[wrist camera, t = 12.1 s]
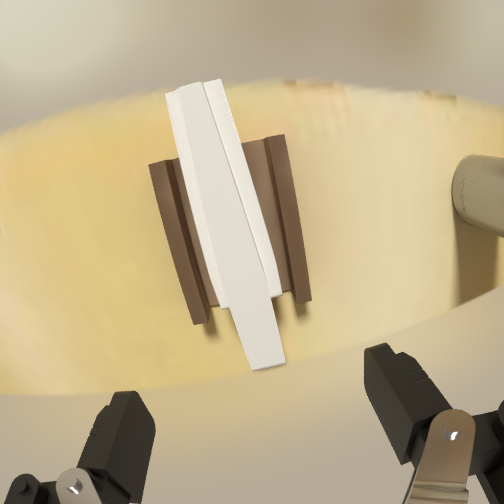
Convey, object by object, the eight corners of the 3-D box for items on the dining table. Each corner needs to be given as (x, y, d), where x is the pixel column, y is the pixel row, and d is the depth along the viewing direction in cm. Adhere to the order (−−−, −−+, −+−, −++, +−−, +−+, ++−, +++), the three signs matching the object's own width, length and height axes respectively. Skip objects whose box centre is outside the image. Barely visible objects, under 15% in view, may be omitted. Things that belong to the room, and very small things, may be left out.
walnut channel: (277, 136, 29) (284, 134, 25) (303, 284, 34) (311, 300, 30) (158, 163, 29) (148, 164, 25) (197, 306, 34) (193, 324, 30)
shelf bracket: (228, 81, 26) (235, 72, 15) (276, 288, 39) (298, 365, 28) (173, 96, 26) (144, 98, 15) (234, 299, 39) (242, 377, 28)
